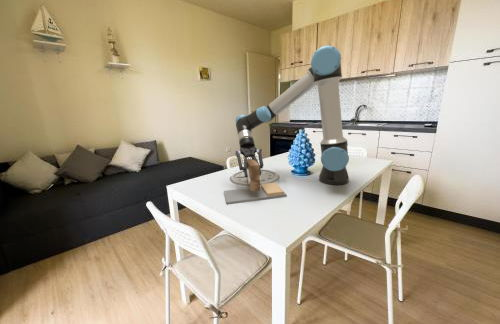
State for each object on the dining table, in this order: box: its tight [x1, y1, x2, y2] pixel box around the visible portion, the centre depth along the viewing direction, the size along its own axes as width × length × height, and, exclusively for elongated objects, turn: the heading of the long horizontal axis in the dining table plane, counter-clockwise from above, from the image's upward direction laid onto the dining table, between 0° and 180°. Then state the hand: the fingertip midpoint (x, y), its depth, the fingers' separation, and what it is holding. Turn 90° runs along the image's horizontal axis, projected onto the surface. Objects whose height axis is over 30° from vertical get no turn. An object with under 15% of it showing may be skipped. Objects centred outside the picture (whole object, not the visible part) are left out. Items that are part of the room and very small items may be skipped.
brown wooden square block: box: [246, 158, 261, 191], centre depth 104 cm, size 4×12×12 cm, turn 11°
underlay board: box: [223, 181, 288, 205], centre depth 106 cm, size 28×14×2 cm, turn 101°
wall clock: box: [229, 168, 280, 187], centre depth 132 cm, size 30×2×30 cm
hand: (254, 181), depth 101 cm, fingers closed on brown wooden square block, 4 cm apart
